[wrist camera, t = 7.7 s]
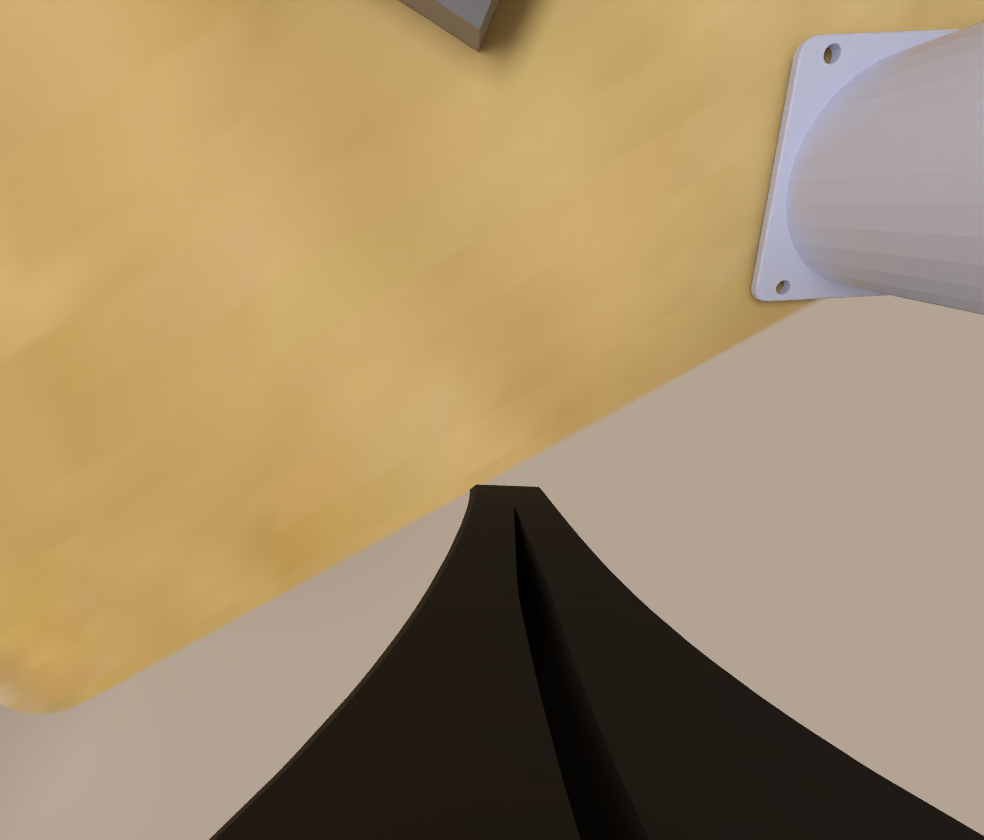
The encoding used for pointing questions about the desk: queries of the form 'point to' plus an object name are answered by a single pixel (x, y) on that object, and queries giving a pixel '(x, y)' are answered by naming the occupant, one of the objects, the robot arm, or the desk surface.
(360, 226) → the desk surface
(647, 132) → the desk surface
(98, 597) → the desk surface
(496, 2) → the button panel
